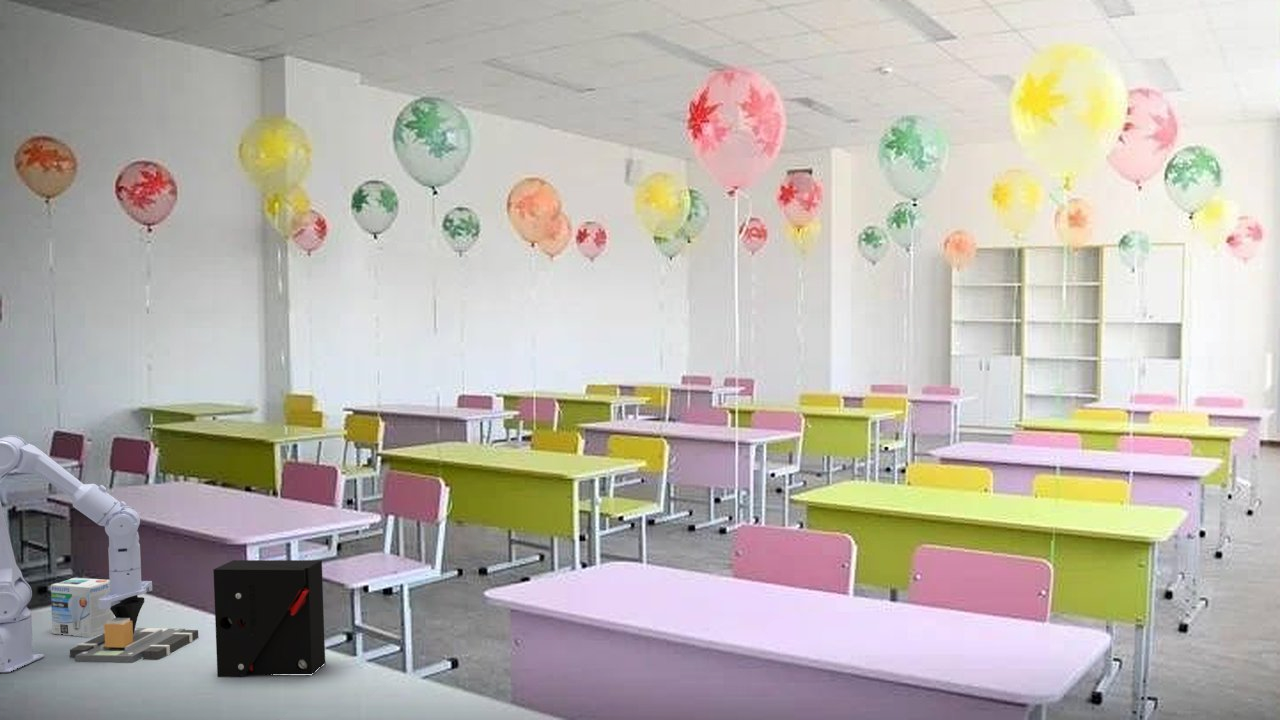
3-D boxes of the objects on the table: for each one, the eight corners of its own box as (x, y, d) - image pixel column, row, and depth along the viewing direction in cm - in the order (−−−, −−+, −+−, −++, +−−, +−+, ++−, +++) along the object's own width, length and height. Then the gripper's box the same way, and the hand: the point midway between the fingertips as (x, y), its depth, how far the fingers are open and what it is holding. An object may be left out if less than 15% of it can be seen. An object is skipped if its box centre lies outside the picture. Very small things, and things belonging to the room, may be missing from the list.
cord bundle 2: (159, 659, 201) (159, 650, 200) (141, 659, 201) (141, 650, 201) (199, 637, 214) (199, 629, 214) (182, 637, 215) (182, 628, 215)
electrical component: (329, 661, 197) (326, 557, 197) (307, 679, 187) (303, 570, 187) (242, 660, 199) (238, 557, 198) (215, 678, 189) (211, 570, 188)
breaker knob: (123, 647, 203) (122, 621, 203) (105, 647, 203) (104, 621, 203) (133, 642, 206) (132, 617, 206) (114, 642, 206) (113, 617, 206)
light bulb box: (50, 634, 219) (48, 584, 219) (76, 625, 226) (74, 576, 225) (91, 637, 216) (88, 587, 216) (115, 628, 223) (113, 579, 222)
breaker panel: (132, 662, 199) (132, 652, 199) (75, 661, 201) (75, 651, 201) (185, 634, 217) (184, 625, 217) (132, 633, 218) (132, 624, 218)
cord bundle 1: (86, 658, 203) (86, 649, 202) (68, 657, 203) (68, 648, 203) (130, 636, 216) (130, 627, 216) (113, 636, 217) (113, 627, 217)
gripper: (120, 577, 199) (123, 646, 200) (164, 560, 214) (167, 624, 214) (87, 577, 200) (90, 646, 201) (133, 559, 214) (135, 624, 215)
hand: (127, 635), depth 207 cm, fingers closed
